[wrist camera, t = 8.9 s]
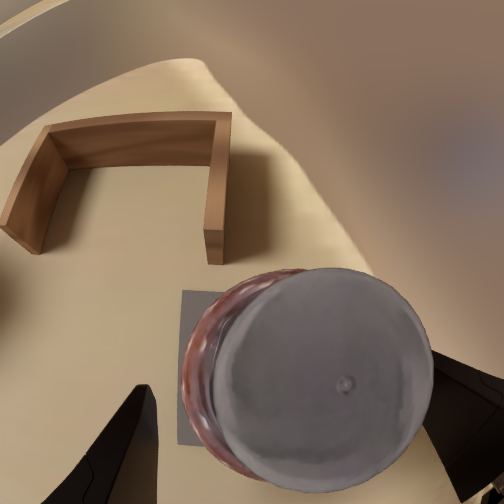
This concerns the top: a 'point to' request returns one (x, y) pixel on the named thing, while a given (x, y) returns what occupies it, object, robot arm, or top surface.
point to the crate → (120, 154)
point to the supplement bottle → (308, 378)
